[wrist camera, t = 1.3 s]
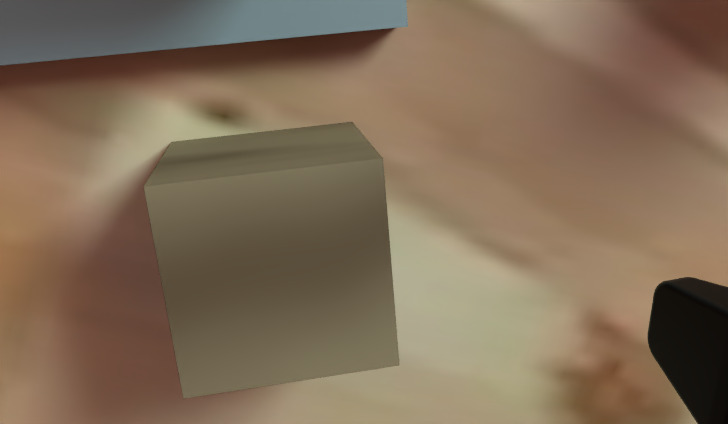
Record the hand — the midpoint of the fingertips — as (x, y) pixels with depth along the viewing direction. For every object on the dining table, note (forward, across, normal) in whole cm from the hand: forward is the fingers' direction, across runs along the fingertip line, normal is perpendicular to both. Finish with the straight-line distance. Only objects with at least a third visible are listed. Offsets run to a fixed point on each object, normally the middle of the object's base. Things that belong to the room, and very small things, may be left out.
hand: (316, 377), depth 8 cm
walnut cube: (+12, -1, +3) cm, 12 cm away
